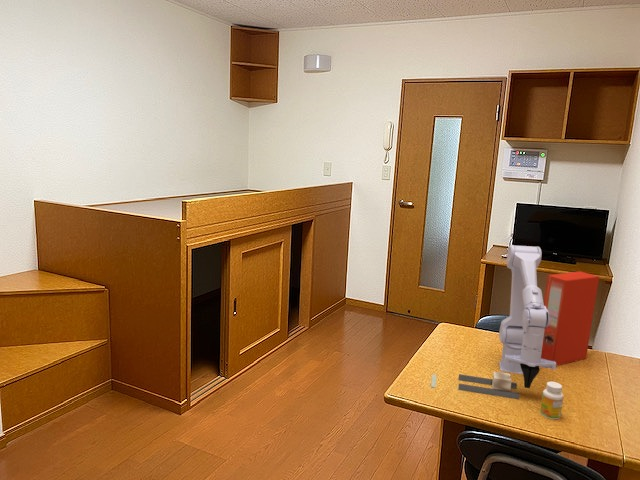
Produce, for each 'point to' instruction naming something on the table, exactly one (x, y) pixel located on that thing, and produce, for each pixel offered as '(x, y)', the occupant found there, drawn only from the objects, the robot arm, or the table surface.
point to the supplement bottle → (552, 401)
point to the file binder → (568, 316)
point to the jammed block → (501, 381)
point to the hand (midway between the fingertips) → (526, 386)
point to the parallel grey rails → (486, 390)
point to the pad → (433, 381)
